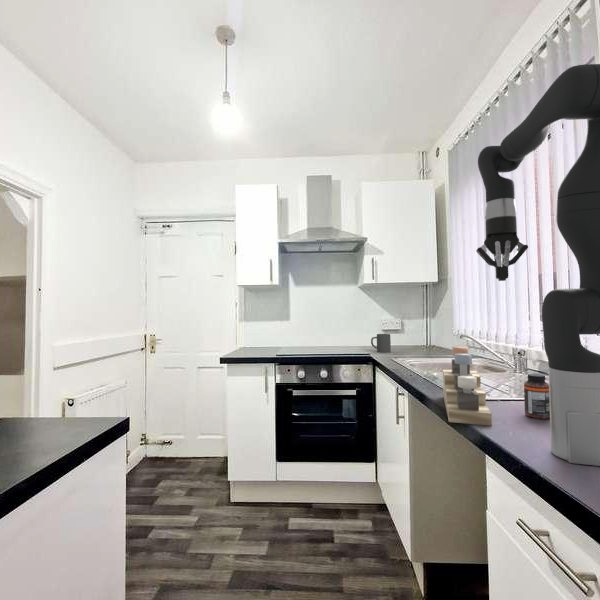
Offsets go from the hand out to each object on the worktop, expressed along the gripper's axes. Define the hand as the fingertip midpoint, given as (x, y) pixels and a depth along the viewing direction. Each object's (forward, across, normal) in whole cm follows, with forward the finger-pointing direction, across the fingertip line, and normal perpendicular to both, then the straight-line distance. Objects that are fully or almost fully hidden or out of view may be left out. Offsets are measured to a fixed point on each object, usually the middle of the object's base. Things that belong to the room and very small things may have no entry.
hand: (502, 280), depth 100 cm
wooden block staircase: (+37, -10, +4) cm, 39 cm away
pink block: (+27, -10, +13) cm, 31 cm away
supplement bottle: (+37, +8, +2) cm, 38 cm away
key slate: (+28, -10, +3) cm, 30 cm away
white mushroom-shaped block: (+33, -10, -6) cm, 35 cm away
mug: (+37, -49, +139) cm, 152 cm away
